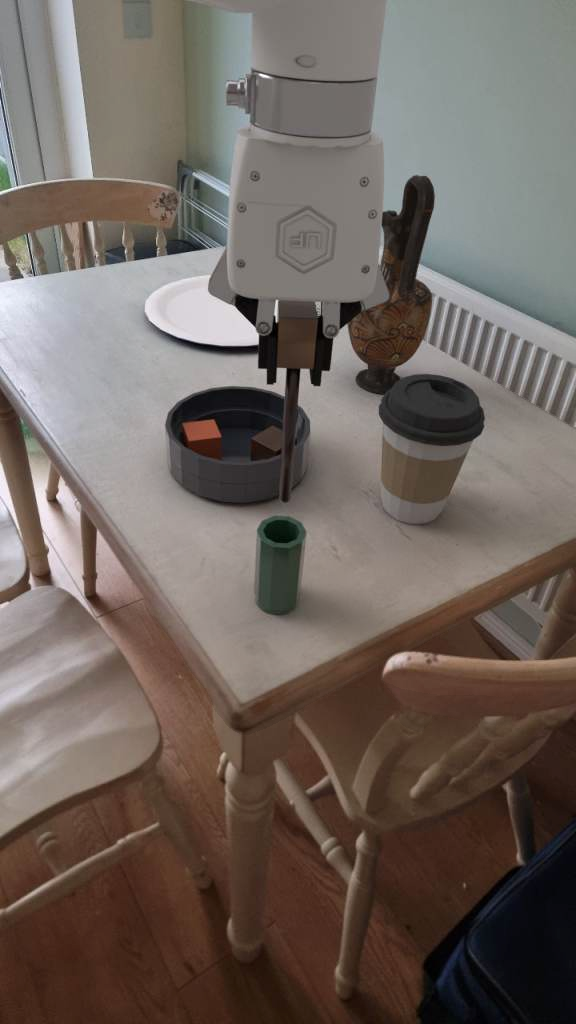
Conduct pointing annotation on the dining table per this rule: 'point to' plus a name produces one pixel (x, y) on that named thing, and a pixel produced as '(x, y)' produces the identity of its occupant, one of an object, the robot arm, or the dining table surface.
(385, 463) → the coffee cup
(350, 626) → the dining table surface
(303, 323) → the wooden cube mallet
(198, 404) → the bowl
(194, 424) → the terracotta block
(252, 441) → the walnut block
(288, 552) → the holder
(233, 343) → the plate
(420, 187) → the vase
